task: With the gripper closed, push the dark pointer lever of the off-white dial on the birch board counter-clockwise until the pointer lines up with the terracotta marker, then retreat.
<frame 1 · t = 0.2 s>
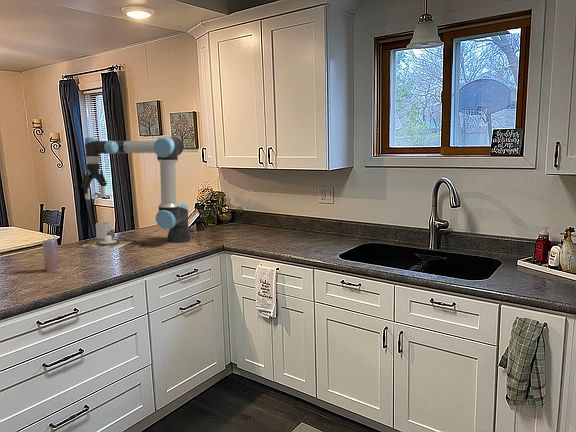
hand: (95, 197, 270), 27 cm above the table, fingers open, 13 cm apart
dial: (109, 237, 264), point 5 cm above the table, hinge at -75.0°
board: (108, 245, 262), on the table
beverage can: (52, 270, 212), on the table
mug: (106, 239, 280), on the table
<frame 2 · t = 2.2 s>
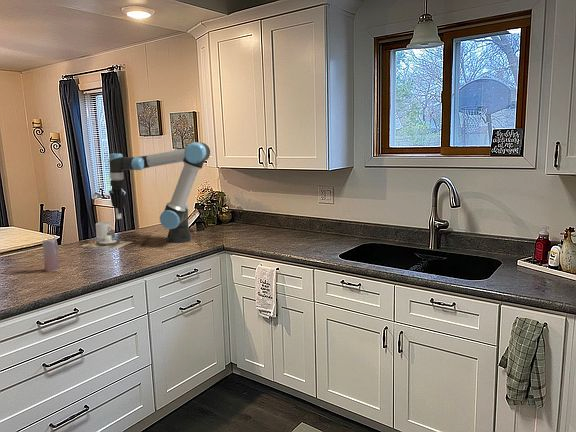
hand: (118, 218, 264), 16 cm above the table, fingers closed
nothing on the table moved.
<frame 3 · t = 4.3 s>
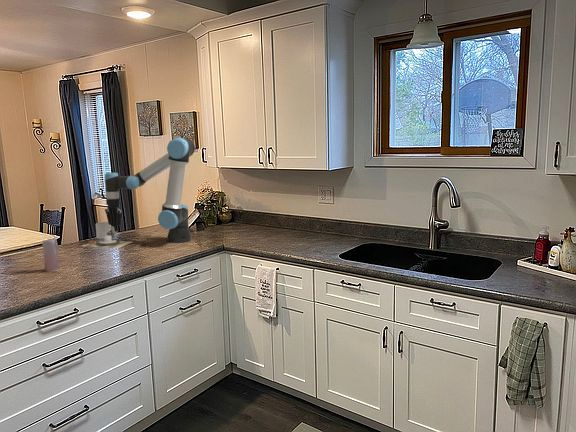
hand: (115, 236, 268), 4 cm above the table, fingers closed
dial: (109, 237, 264), point 5 cm above the table, hinge at -74.9°, touching gripper
everything else where it was.
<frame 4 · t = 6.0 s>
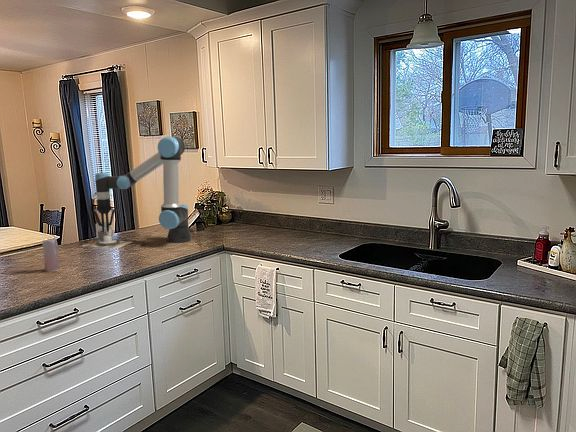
hand: (106, 236, 268), 4 cm above the table, fingers closed
dial: (105, 237, 263), point 5 cm above the table, hinge at -30.2°, touching gripper
everything else where it was.
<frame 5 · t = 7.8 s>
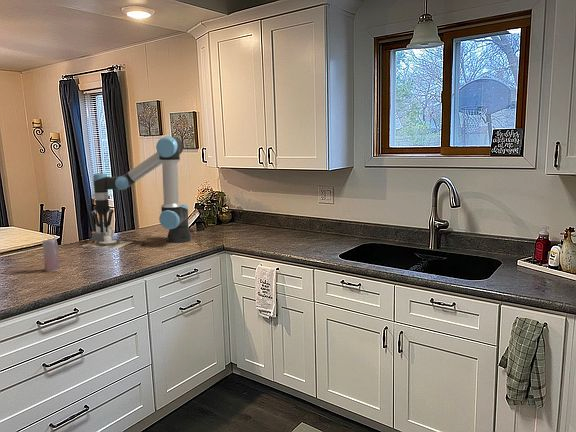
hand: (104, 237, 267), 4 cm above the table, fingers closed
dial: (104, 238, 262), point 5 cm above the table, hinge at -2.1°
everything else where it was.
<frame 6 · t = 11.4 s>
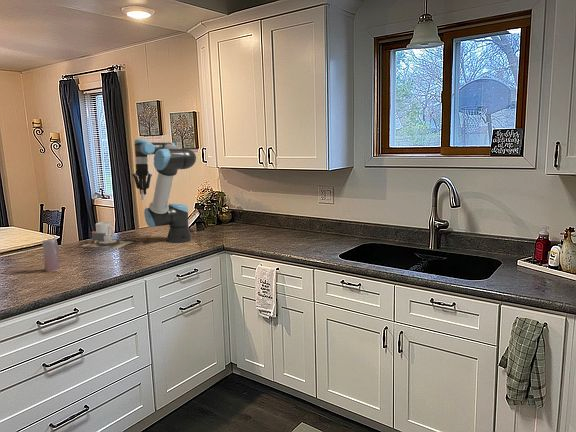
hand: (143, 199, 287), 24 cm above the table, fingers closed
nothing on the table moved.
at the end: dial at -2° (first picture: -75°) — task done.
